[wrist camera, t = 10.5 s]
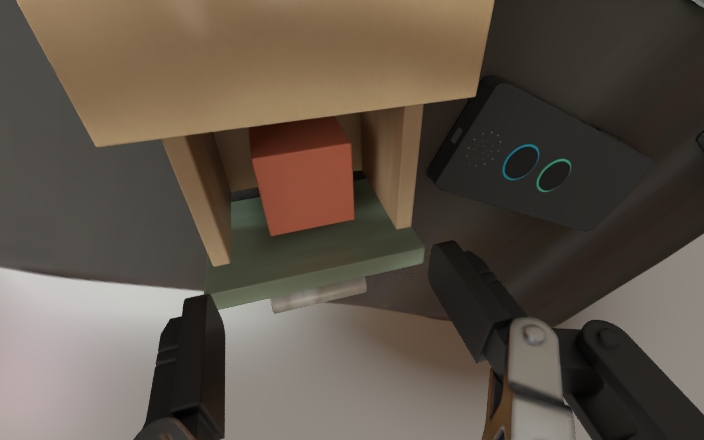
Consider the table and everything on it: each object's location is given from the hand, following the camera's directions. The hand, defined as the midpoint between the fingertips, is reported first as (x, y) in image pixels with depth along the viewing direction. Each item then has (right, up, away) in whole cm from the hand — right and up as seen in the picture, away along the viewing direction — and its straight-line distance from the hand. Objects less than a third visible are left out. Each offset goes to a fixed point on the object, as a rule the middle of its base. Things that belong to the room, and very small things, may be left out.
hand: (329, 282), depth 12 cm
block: (-2, +6, +7) cm, 10 cm away
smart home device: (+17, +7, +16) cm, 24 cm away
